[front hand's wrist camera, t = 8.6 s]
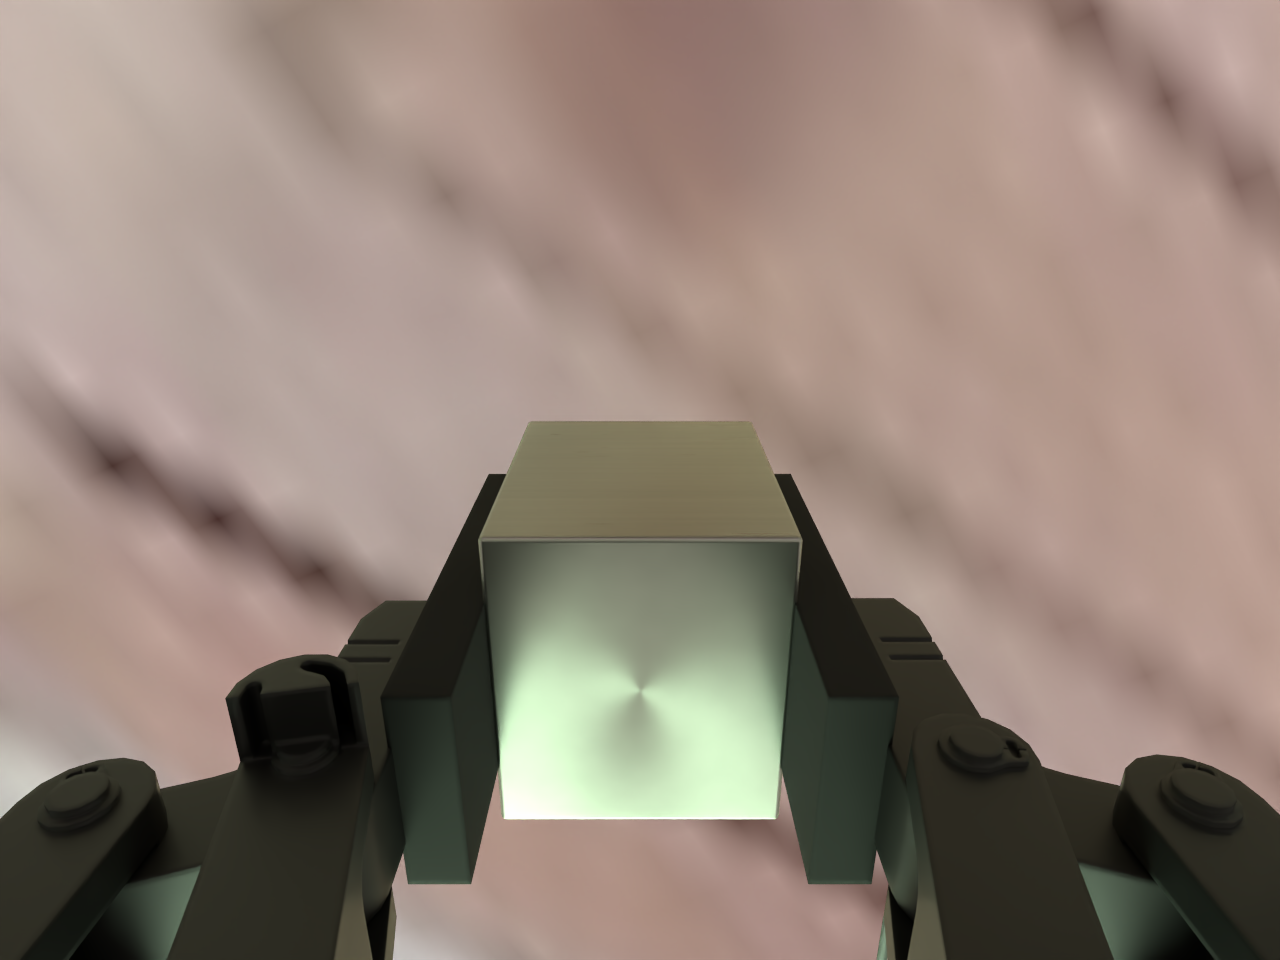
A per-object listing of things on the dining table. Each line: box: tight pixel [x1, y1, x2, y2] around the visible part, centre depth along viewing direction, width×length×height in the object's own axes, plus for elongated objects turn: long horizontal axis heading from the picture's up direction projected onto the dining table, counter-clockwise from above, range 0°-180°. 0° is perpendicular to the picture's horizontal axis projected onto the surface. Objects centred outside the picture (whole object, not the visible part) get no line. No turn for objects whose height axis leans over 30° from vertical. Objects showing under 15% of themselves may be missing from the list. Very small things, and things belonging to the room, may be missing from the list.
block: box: [478, 421, 803, 819], centre depth 13 cm, size 5×4×5 cm
